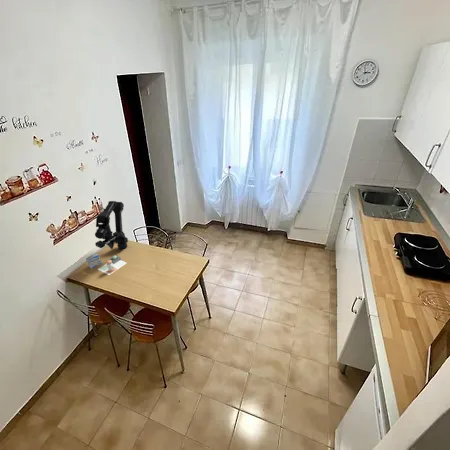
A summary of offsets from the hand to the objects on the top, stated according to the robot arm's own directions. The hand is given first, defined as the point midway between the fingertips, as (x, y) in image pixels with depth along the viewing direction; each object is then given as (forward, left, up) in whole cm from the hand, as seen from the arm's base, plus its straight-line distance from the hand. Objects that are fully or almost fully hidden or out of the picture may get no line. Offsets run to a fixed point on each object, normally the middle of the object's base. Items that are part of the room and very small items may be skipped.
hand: (111, 248), depth 187 cm
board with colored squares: (+6, +4, -11) cm, 13 cm away
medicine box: (+11, -8, -12) cm, 18 cm away
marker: (+9, +8, -11) cm, 16 cm away
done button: (0, 0, -9) cm, 9 cm away
